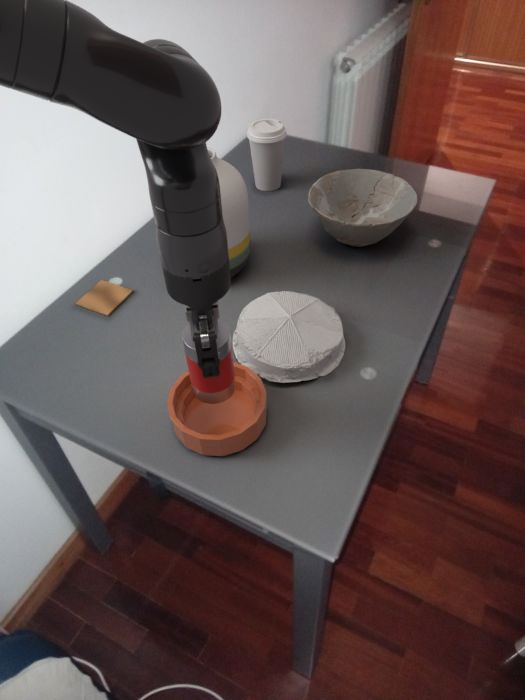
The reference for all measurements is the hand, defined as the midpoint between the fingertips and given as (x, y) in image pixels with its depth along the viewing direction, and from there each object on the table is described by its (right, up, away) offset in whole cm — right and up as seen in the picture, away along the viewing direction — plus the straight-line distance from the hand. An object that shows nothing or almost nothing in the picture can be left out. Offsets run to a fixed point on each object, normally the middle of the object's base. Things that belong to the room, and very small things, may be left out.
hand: (209, 355), depth 66 cm
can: (0, -5, +5) cm, 7 cm away
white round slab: (+12, +2, +21) cm, 24 cm away
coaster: (-24, +11, +31) cm, 41 cm away
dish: (+1, -10, +10) cm, 14 cm away
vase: (-3, +19, +37) cm, 42 cm away
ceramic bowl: (+28, +26, +43) cm, 58 cm away
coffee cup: (+9, +43, +60) cm, 74 cm away
